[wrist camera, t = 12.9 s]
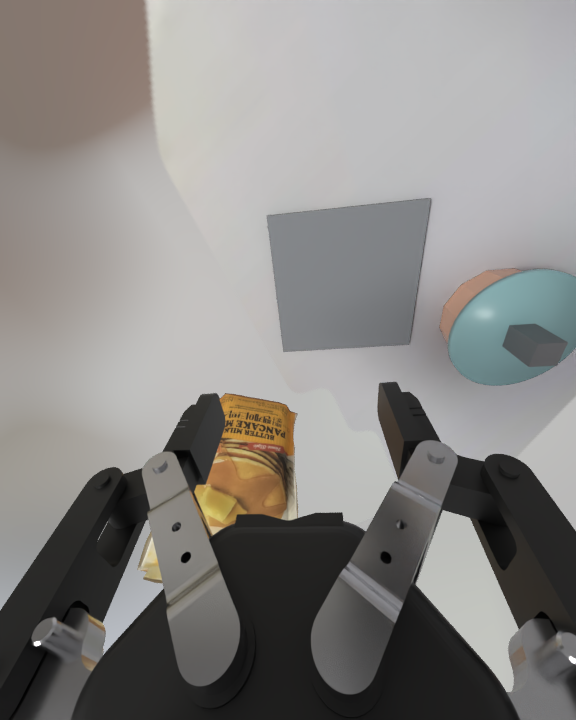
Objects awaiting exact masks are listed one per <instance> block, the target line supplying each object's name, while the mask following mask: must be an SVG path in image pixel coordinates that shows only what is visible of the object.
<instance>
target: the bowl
mask: <svg viewBox="0 0 576 720" xmlns="http://www.w3.org/2000/svg"><path fill="white" fill-rule="evenodd" d="M518 272H522V271H520V270H517V269H515V268H512V269H500V270H488V271H485V272H483V273H482V274H480V275H478V276H476V277H474V278H473V279H471V280H469V281H467V282H465V283H464V284H462V285H460V287H459V288H458V289H457V290H456V292H455V293H454V294H453V295H452V297H451V298H450V299H449V300H448V302H447V303H446V304H445V305H444V308H443V313H442V317H441V322H440V327H439V328H440V330H441V332H442V334H443V336H444V338H445V340H446V342H447V344H448V338H449V334H450V330H451V327H452V325H453V323H454V321H455V319H456V318H457V316H458V314H459V313H460V312H461V310H462V309H463V308H464V306H465V305H466V304H467V303H468V302H469V301H470V300H471V299H472V298H473V297H474V296H476V295H477V294H478V293H479V292H480V291H482V290H483V289H485V288H486V287H487V286H489V285H491V284H492V283H494V282H496V281H498V280H500V279H502V278H504V277H506V276H509V275H512V274H515V273H518Z"/></svg>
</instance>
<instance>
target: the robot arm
mask: <svg viewBox="0 0 576 720" xmlns="http://www.w3.org/2000/svg"><path fill="white" fill-rule="evenodd" d="M378 417H379V421H380V424H381V427H382V431H383V434H384V437H385V440H386V443H387V446H388V449H389V452H390V455H391V458H392V462H393V465H394V468H395V471H396V474H397V477H398V482H396V481H395V482H394V483H393V484H392V486H391V487H390V489H389V491H388V493H387V495H386V496H385V498H384V500H383V502H382V504H381V506H380V507H379V509H378V511H377V513H376V514H375V516H374V518H373V520H372V522H371V524H370V525H369V527H368V529H367V531H364V530H363V529H361V528H360V527H358V526H356V525H354V524H351V523H348V522H345V521H343V515H342V513H314V514H311V515H307V516H303V517H300V518H297V519H293V520H283V519H279V518H275V517H272V516H268V515H264V514H237V516H236V521H235V523H234V524H231V525H229V526H227V527H225V528H223V529H221V530H220V531H218V532H217V533H215V534H214V535H213V534H212V532H211V530H210V528H209V525H208V523H207V521H206V518H205V516H204V513H203V511H202V509H201V506H200V504H199V502H198V499H197V497H196V494H195V492H194V491H195V488H196V486H197V485H206V482H207V479H208V476H209V473H210V470H211V467H212V464H213V461H214V458H215V455H216V452H217V449H218V446H219V443H220V440H221V437H222V434H223V431H224V428H225V414H224V411H223V408H222V405H221V402H220V399H219V396H218V395H217V394H216V393H213V394H202V395H200V397H199V399H198V401H197V403H196V405H191V406H190V407H189V408H188V409H187V410H186V411H185V412H184V413H183V415H182V417H181V419H180V422H178V425H177V426H176V428H175V430H174V432H173V433H172V435H171V437H170V439H169V441H168V443H167V445H166V446H165V448H164V450H163V452H162V453H159V454H157V455H155V456H153V457H152V458H150V459H149V460H148V461H147V462H146V464H145V465H144V467H143V468H141V469H138V470H135V471H132V472H129V473H126V474H123V473H122V471H121V470H120V469H119V468H116V467H112V468H107V469H105V470H102V471H100V472H99V473H97V474H96V475H94V476H93V477H92V478H91V479H90V480H89V481H88V482H87V484H86V485H85V487H84V488H83V490H82V491H81V492H80V494H79V496H78V497H77V499H76V500H75V501H74V503H73V504H72V506H71V507H70V509H69V510H68V512H67V513H66V515H65V516H64V518H63V519H62V521H61V522H60V523H59V525H58V527H57V528H56V529H55V531H54V532H53V534H52V535H51V537H50V538H49V540H48V541H47V543H46V544H45V546H44V547H43V549H42V550H41V551H40V553H39V555H38V556H37V557H36V559H35V560H34V562H33V563H32V565H31V566H30V568H29V569H28V571H27V572H26V574H25V575H24V576H23V578H22V579H21V581H20V582H19V584H18V586H17V587H16V588H15V590H14V591H13V593H12V594H11V596H10V597H9V599H8V600H7V602H6V603H5V604H4V606H3V607H2V609H1V611H0V720H576V531H575V530H574V528H573V527H572V526H571V524H570V523H569V521H568V520H567V519H566V517H565V516H564V514H563V513H562V512H561V511H560V509H559V508H558V506H557V505H556V503H555V502H554V501H553V499H552V498H551V497H550V495H549V494H548V493H547V491H546V490H545V488H544V487H543V486H542V484H541V483H540V481H539V480H538V479H537V477H536V476H535V475H534V473H533V472H532V471H531V469H530V468H529V467H528V466H527V465H526V464H524V463H523V462H521V461H520V460H518V459H516V458H514V457H511V456H508V455H504V454H493V455H490V456H488V457H487V458H486V459H485V462H484V461H479V460H475V459H470V458H465V457H462V456H459V455H457V454H456V453H455V452H454V451H453V450H452V449H451V448H450V447H449V446H447V445H446V444H444V443H441V441H440V439H439V437H438V436H437V434H436V432H435V430H434V428H433V426H432V424H431V423H430V421H429V419H428V417H427V416H426V413H425V411H424V410H423V409H422V406H421V404H420V402H419V400H418V399H417V398H416V397H415V396H414V395H412V394H411V393H410V392H401V390H400V388H399V386H398V384H397V382H387V383H380V384H379V393H378ZM443 510H445V511H449V512H452V513H455V514H459V515H463V516H466V517H469V518H470V519H471V521H472V523H473V526H474V528H475V530H476V532H477V535H478V537H479V539H480V542H481V544H482V546H483V548H484V550H485V553H486V555H487V558H488V560H489V562H490V564H491V567H492V569H493V571H494V574H495V576H496V578H497V580H498V583H499V585H500V587H501V589H502V592H503V594H504V596H505V599H506V601H507V603H508V605H509V607H510V610H511V612H512V614H513V617H514V619H515V621H516V623H517V626H518V628H519V630H518V631H517V632H516V633H515V635H514V636H513V637H512V638H511V640H510V642H509V647H508V651H509V658H510V662H511V665H512V669H513V674H514V686H513V690H512V692H506V691H505V689H504V687H503V686H502V684H501V683H500V681H499V680H498V679H497V677H496V676H495V674H494V673H493V672H492V670H491V669H490V668H489V667H488V666H487V664H486V663H485V662H484V661H483V660H482V659H481V658H480V657H479V655H477V653H476V652H475V651H474V650H473V649H472V648H471V646H469V644H468V643H467V642H466V641H465V640H464V639H463V637H462V636H461V635H460V634H459V633H458V632H457V631H456V630H455V628H454V627H453V626H452V625H451V624H450V623H449V622H448V621H447V620H446V618H445V617H443V615H442V614H441V613H440V612H439V611H438V609H437V608H436V607H435V606H434V605H433V604H432V603H431V602H430V600H429V599H428V598H427V597H426V596H425V595H424V594H423V593H422V592H421V590H420V589H419V588H418V587H417V586H416V582H417V580H418V577H419V574H420V572H421V569H422V566H423V563H424V560H425V557H426V554H427V551H428V548H429V546H430V543H431V540H432V538H433V535H434V532H435V530H436V527H437V524H438V522H439V519H440V516H441V513H442V511H443ZM146 520H149V524H150V529H151V533H152V538H153V542H154V546H155V551H156V555H157V560H158V564H159V569H160V573H161V577H162V582H163V586H164V589H163V590H162V591H161V592H160V593H159V594H158V595H157V596H156V597H155V599H154V600H153V601H152V602H151V603H150V604H149V605H148V606H147V608H145V610H144V611H143V612H142V613H141V614H140V615H139V616H138V617H137V618H136V619H135V620H134V622H133V623H132V624H131V625H130V626H129V627H128V628H127V629H126V630H125V631H124V633H123V634H122V635H121V636H120V637H119V638H118V639H117V640H116V642H114V644H113V645H112V646H111V647H110V648H109V649H108V650H107V651H106V653H105V654H104V655H103V645H104V642H105V634H106V633H105V627H104V625H103V624H102V623H103V621H104V618H105V616H106V613H107V611H108V609H109V606H110V604H111V602H112V599H113V597H114V594H115V592H116V590H117V588H118V585H119V583H120V580H121V578H122V576H123V573H124V571H125V569H126V566H127V564H128V561H129V559H130V557H131V554H132V552H133V550H134V547H135V545H136V543H137V540H138V538H139V535H140V533H141V531H142V528H143V526H144V524H145V521H146ZM107 521H108V523H107ZM106 523H107V525H106ZM105 525H106V527H105ZM104 527H105V529H104ZM103 529H104V531H103ZM102 531H103V532H102ZM101 532H102V534H101ZM100 534H101V536H100ZM99 536H100V538H99ZM98 538H99V540H98ZM97 541H98V542H97Z"/></svg>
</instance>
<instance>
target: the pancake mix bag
mask: <svg viewBox="0 0 576 720" xmlns="http://www.w3.org/2000/svg"><path fill="white" fill-rule="evenodd" d="M219 399H220V402H221V405H222V408H223V411H224V414H225V428H224V431H223V434H222V437H221V440H220V443H219V446H218V449H217V452H216V455H215V458H214V461H213V464H212V467H211V470H210V473H209V476H208V479H207V482H206V485H197V486H196V488H195V491H194V492H195V494H196V497H197V499H198V502H199V504H200V506H201V509H202V511H203V513H204V516H205V518H206V521H207V523H208V525H209V528H210V530H211V532H212V534H213V535H214V534H215V533H217V532H218V531H220V530H221V529H223V528H225V527H227V526H229V525H231V524H234V523H235V521H236V516H237V514H264V515H268V516H272V517H275V518H279V519H283V520H293V519H297V518H298V504H297V485H296V477H295V469H294V467H295V461H294V450H295V448H294V442H293V430H294V423H295V420H296V417H297V413H294V412H291V411H290V410H289V409H288V407H287V406H286V405H285V404H282V403H279V402H274V401H268V400H263V399H257V398H251V397H245V396H241V395H236V394H226V393H225V395H223V397H222V398H219ZM137 570H141V571H146V572H147V573H146V575H145V576H144V578H143V579H144V580H148V581H151V582H155V583H163V582H162V577H161V573H160V569H159V564H158V560H157V555H156V551H155V546H154V542H153V538H152V533H151V532H150V534H149V536H148V538H147V541H146V543H145V546H144V549H143V552H142V555H141V559H140V562H139V565H138V568H137Z"/></svg>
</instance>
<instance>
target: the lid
mask: <svg viewBox="0 0 576 720" xmlns="http://www.w3.org/2000/svg"><path fill="white" fill-rule="evenodd" d="M575 348H576V277H574V276H572V275H570V274H567V273H564V272H560V271H556V270H550V269H533V270H526V271H522V272H518V273H515V274H512V275H509V276H506V277H504V278H502V279H500V280H498V281H496V282H494V283H492V284H491V285H489V286H487V287H486V288H485V289H483V290H482V291H480V292H479V293H478V294H477V295H476V296H474V297H473V298H472V299H471V300H470V301H469V302H468V303H467V304H466V305H465V306H464V308H463V309H462V310H461V312H460V313H459V314H458V316H457V318H456V319H455V321H454V323H453V325H452V327H451V330H450V334H449V338H448V353H449V357H450V359H451V362H452V363H453V365H454V366H455V367H456V369H457V370H458V371H459V372H460V373H461V374H462V375H463V376H464V377H466V378H467V379H469V380H471V381H474V382H476V383H480V384H484V385H509V384H514V383H518V382H522V381H525V380H528V379H531V378H533V377H536V376H538V375H540V374H542V373H544V372H546V371H547V370H549V369H551V368H552V367H554V366H557V365H558V363H560V362H561V361H562V360H563V359H565V358H566V357H567V356H568V355H569V354H570V353H571V352H572V351H573V350H574V349H575Z"/></svg>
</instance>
